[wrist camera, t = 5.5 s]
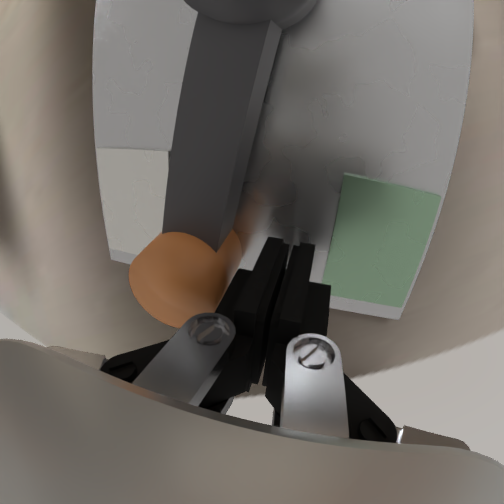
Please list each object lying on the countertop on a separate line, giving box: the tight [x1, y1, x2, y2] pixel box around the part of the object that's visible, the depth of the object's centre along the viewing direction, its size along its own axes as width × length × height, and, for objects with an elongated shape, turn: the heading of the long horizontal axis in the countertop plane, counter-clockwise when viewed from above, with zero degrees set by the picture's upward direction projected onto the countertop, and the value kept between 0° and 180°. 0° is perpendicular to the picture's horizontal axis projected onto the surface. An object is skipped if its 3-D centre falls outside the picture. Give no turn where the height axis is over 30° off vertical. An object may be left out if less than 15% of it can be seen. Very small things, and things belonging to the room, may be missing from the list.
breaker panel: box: [92, 0, 474, 320], centre depth 10 cm, size 16×14×2 cm
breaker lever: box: [129, 0, 317, 328], centre depth 9 cm, size 13×4×3 cm, turn 167°
